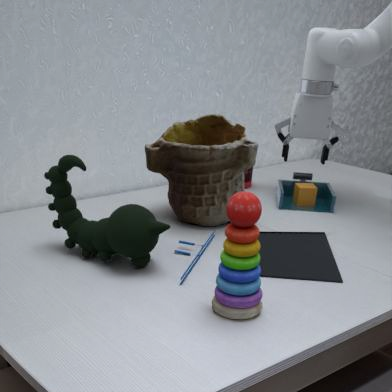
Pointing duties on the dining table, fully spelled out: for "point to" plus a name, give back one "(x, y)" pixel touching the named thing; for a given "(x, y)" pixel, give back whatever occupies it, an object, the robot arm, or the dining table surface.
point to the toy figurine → (102, 222)
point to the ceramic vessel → (202, 166)
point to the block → (305, 194)
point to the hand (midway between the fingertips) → (303, 161)
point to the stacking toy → (240, 260)
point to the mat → (297, 256)
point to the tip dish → (323, 197)
